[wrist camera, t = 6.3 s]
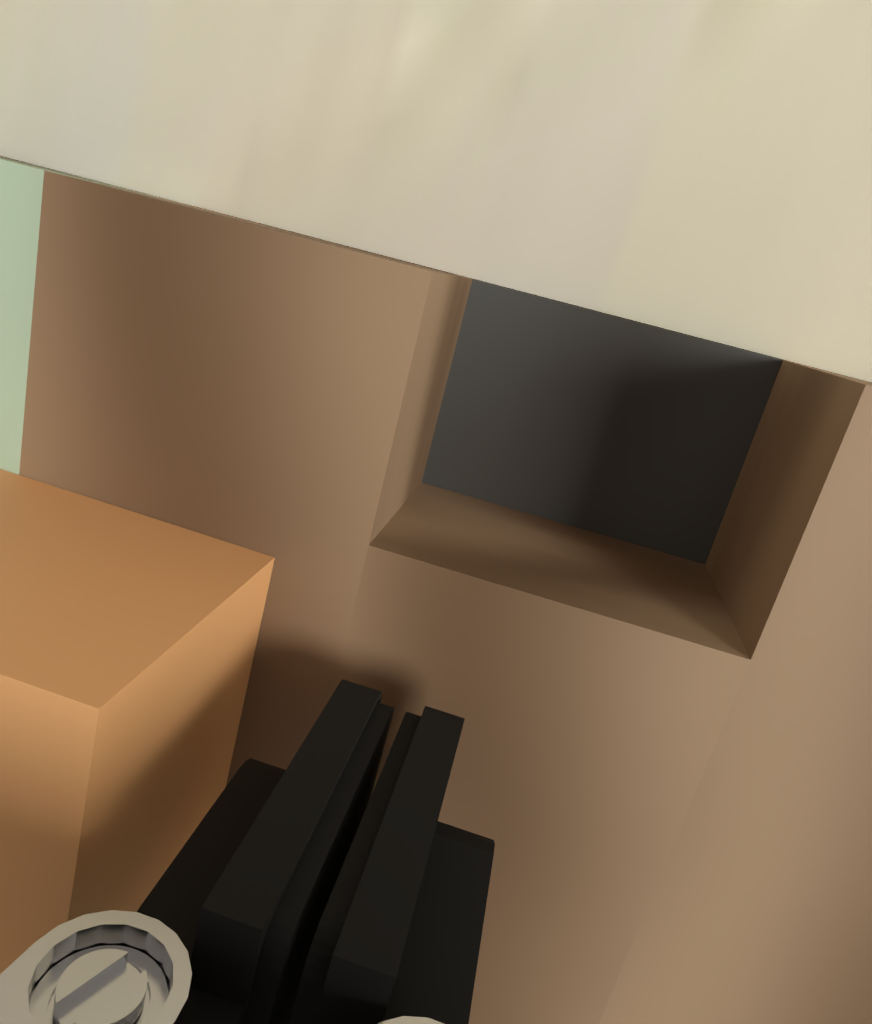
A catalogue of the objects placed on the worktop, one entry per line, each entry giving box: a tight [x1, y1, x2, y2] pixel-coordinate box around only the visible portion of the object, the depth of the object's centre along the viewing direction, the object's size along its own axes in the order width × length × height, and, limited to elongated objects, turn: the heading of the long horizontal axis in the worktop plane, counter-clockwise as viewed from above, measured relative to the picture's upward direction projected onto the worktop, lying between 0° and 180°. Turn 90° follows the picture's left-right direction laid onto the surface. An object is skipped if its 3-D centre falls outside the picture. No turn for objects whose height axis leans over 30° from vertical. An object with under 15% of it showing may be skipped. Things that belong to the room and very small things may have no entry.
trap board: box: [0, 156, 872, 1024], centre depth 13 cm, size 25×13×4 cm, turn 77°
